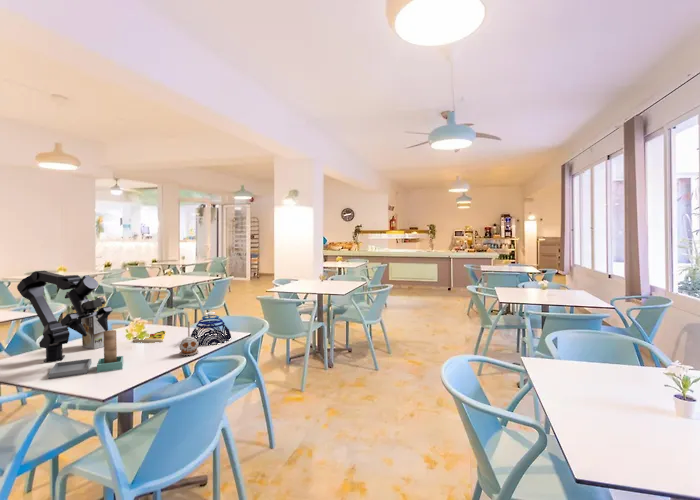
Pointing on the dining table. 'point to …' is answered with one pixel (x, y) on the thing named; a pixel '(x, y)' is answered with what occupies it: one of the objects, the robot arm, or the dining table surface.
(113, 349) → the brown tall rounded cylinder
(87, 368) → the tray
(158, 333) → the pizza slice
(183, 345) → the decorative ornament
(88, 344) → the coffee box
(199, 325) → the decorative bowl
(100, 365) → the teal square frame
